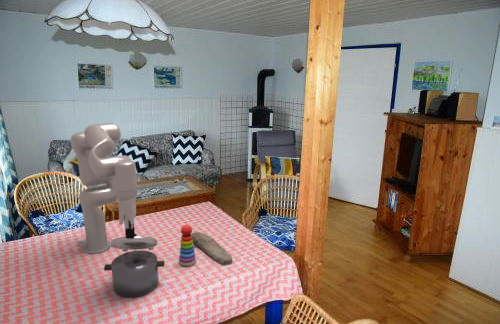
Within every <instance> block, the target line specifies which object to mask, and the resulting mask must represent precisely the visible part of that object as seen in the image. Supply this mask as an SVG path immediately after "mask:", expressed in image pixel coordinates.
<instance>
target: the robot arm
mask: <svg viewBox="0 0 500 324" xmlns="http://www.w3.org/2000/svg"><path fill="white" fill-rule="evenodd" d="M121 134H122V133H121V129H120V127H119V126H118V125H117V124H116V123H113V122H107V123H94V124H91V125H88V126H87V127H85V129H84V131H81V132H75V133H73V134H72V135H71V137H70V145H71V147H72V150H73V152H74V154H75V156H76V158H77V165H78V172H79V179H80V182H81V184H82V186H85V187H87V188H85V189H83V190H81V191H80V193H79V195H78V199H79V203H80V207H81V211H82V215H83V217H82V218H83V223H84V233H85V239H83V240H80V239H79V240H77V245H78V246H79V247H83V251H84V252H85V253H86V254H91V255H92V254H94V255H95V254H101V253H103V252H106V251H108V250H109V249H110V248H111V242H110V241H109V240H108V236H107V227H106V226H107V225H106V216H105V212H104V211H103V210H102V209H101V208H99V207H102V206H105V205H110V204H114V203H116V202H117V201H118V223H119V225H120V226H121V225H123V224H124V231H125V237H126V239H128V238H134V237H135V234H136V233H135V219H136V216H137V204H136V198H137V197H139V195H138V184H137V183H138V181H137V168H136V165H137V164H136V163H135V161H133V160H132V159H131V157H129V156H128V155H118V156H110V155H112V154H113V152H114V151H115V148H116V144H117V143H118V142H119V141H120V139H121V136H122V135H121ZM109 156H110V157H109ZM101 184H104V185H101ZM95 185H96V186H95ZM97 185H99V186H97ZM90 186H93V187H90Z"/></svg>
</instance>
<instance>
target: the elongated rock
mask: <svg viewBox="0 0 500 324" xmlns="http://www.w3.org/2000/svg"><path fill="white" fill-rule="evenodd" d="M191 235H192V240H193V244H194V245H195V246H196V247H197V248H199V249H200V250H202V251H203V252H205V254H207V256H210V257H211V258H212V259H213V260H214V261H216V262H217V263H219V264H221V265H223V266H227V265H229V266H230V265H231V264H232V263H233V257H232V255H231V254H230V253H229V252H227V250H226V249H224V248H223V247H222V246H221V245H220V244H219V243H218V242H217V241H216V240H215V239H214V238H212V237H211V236H209V235H206V234H205V233H203V232H200V231H195V232H194V231H193V232H192V233H191Z"/></svg>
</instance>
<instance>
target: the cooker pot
mask: <svg viewBox="0 0 500 324" xmlns="http://www.w3.org/2000/svg"><path fill="white" fill-rule="evenodd" d="M154 248H155V247H152V248H148V250H149V251H148V250H144V249H139V250H130V251H129V250H123V249H121V250H122V252H124V253H122V254H121V253H120V254H119V255H118V256H116V257H115V258H114V259H113V260H112V261H111V263H109V264H108V263H107V264H104V268H103V270H104V272H105V271H106V272H107V271H111V277H112V286H113V287H112V289H113V292H114V294H115V295H116V296H119V297H120V298H124V299H135V298H140V297H141V298H142V297H144V296H146V295H149V294H150V293H152V292H154V291H155V290H156V288H157V287H158V286H159V282H160V281H159V268H161V267H162V268H163V267H164V268H165V260H158V256H157V255H156V254H155V253H153V252H152V250H153V251H154Z"/></svg>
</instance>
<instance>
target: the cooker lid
mask: <svg viewBox="0 0 500 324" xmlns="http://www.w3.org/2000/svg"><path fill="white" fill-rule="evenodd" d="M110 243H111V247H112V248H113V249H117V250H122V249H123V250H128V251H138V250H147V249H149V248H152V247H154V248H155V247H156V246H157V245H158V239H156V238H155V237H150V236H145V235H144V236H142V235H138V234H136V233H135V237H134V238H128V239H126V236H122V237H121V236H120V237H117V238H113V239H112V240H111V242H110ZM111 247H110V248H111Z"/></svg>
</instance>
